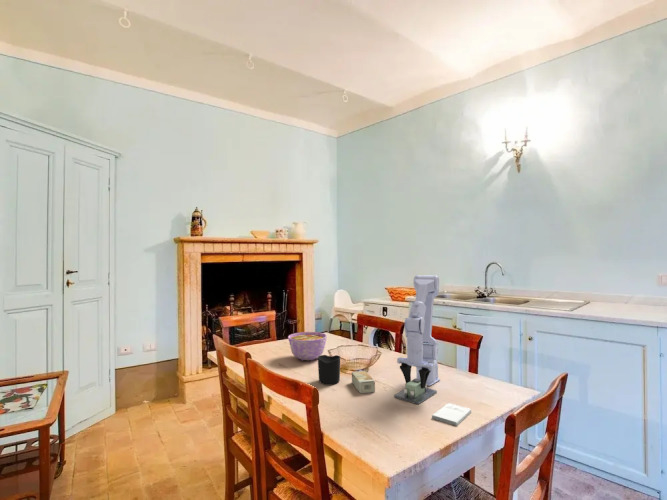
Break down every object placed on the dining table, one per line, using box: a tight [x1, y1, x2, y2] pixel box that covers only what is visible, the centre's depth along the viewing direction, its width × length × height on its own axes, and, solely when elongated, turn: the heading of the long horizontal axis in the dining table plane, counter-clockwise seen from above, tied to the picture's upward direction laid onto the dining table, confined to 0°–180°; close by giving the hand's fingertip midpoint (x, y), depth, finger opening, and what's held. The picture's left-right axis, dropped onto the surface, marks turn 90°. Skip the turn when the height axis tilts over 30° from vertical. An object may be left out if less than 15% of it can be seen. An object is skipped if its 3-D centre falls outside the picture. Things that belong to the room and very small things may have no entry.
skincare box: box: [351, 370, 376, 394], centre depth 143 cm, size 6×4×12 cm
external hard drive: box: [431, 402, 472, 427], centre depth 117 cm, size 2×8×12 cm
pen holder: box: [317, 354, 341, 386], centre depth 151 cm, size 9×9×10 cm
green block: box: [404, 377, 425, 397], centre depth 134 cm, size 7×4×5 cm, turn 138°
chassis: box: [393, 383, 438, 405], centre depth 134 cm, size 14×10×3 cm
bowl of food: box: [287, 331, 328, 361], centre depth 184 cm, size 20×20×12 cm
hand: (415, 385), depth 135 cm, fingers open, 6 cm apart
